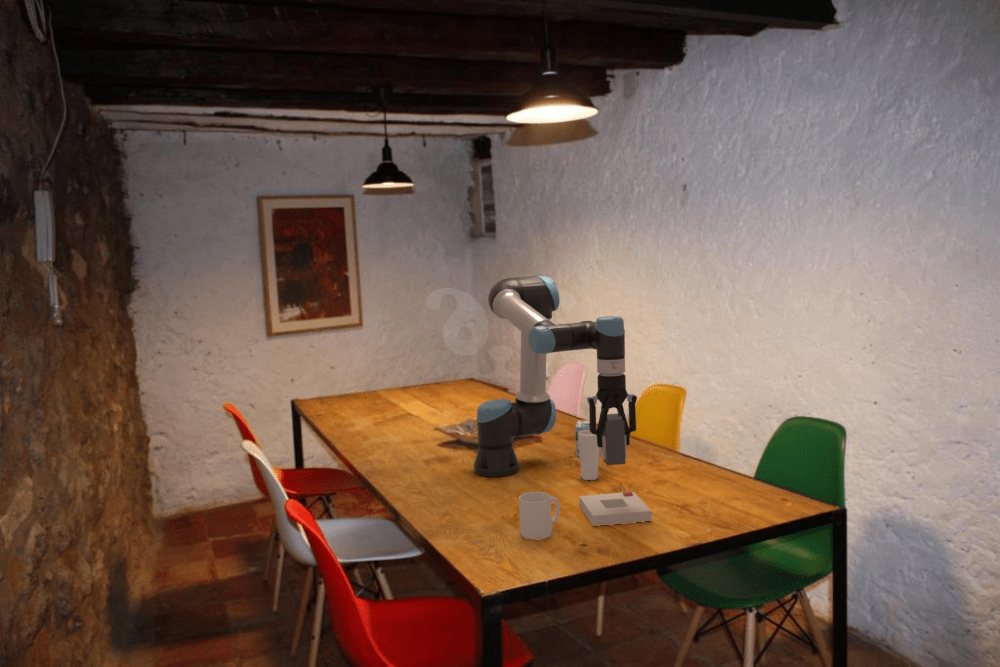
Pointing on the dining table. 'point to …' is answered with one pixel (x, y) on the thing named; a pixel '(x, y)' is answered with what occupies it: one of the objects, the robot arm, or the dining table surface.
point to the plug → (614, 439)
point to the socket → (614, 508)
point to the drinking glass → (588, 455)
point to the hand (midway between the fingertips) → (613, 457)
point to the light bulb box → (579, 427)
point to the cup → (537, 515)
